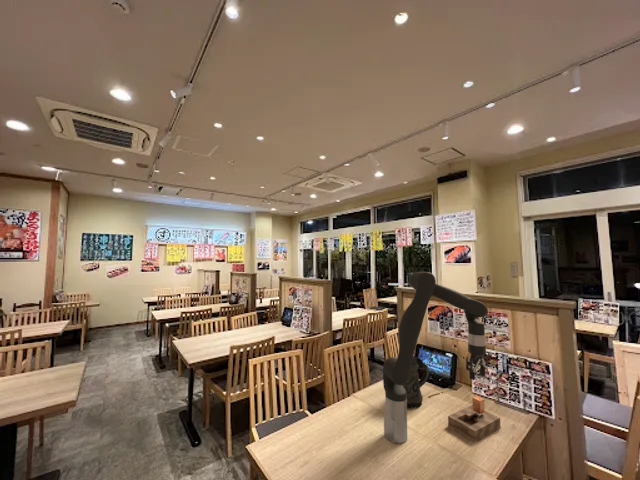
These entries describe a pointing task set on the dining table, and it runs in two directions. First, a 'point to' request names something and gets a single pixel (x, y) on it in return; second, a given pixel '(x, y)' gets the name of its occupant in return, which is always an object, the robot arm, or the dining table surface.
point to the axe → (434, 394)
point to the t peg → (478, 407)
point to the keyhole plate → (468, 428)
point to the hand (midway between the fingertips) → (477, 377)
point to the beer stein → (415, 383)
